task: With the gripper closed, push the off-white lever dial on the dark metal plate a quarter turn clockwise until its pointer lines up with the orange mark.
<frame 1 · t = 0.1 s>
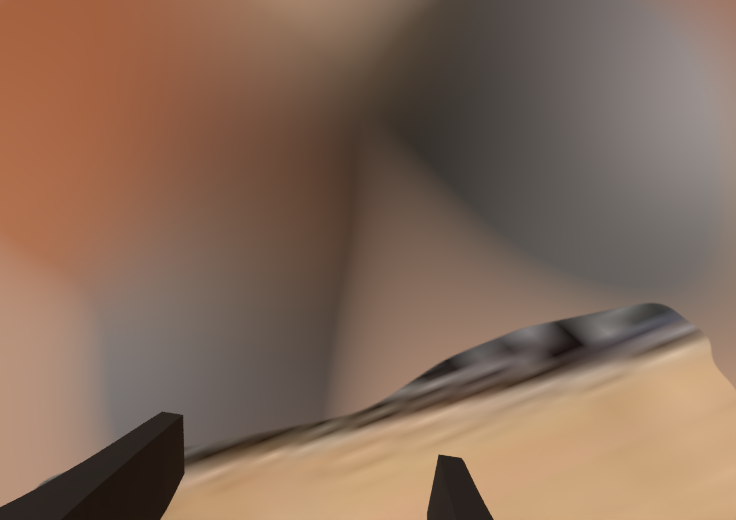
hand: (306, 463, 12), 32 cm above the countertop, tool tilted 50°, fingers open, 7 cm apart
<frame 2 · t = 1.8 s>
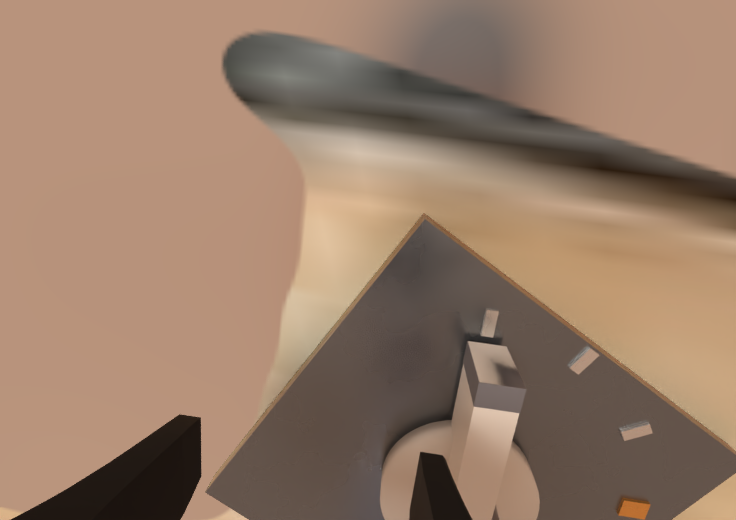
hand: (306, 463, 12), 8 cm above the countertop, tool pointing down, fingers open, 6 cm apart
dial plate: (452, 460, 21), on the countertop
dial: (467, 475, 18), point 3 cm above the countertop, hinge at 30.0°
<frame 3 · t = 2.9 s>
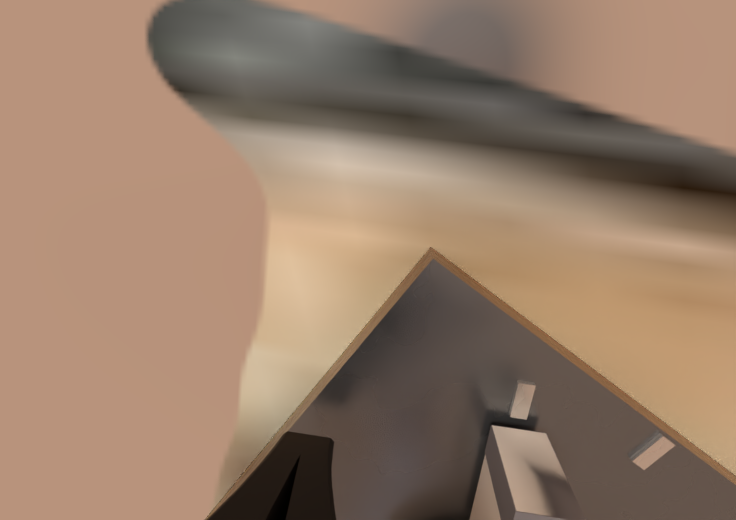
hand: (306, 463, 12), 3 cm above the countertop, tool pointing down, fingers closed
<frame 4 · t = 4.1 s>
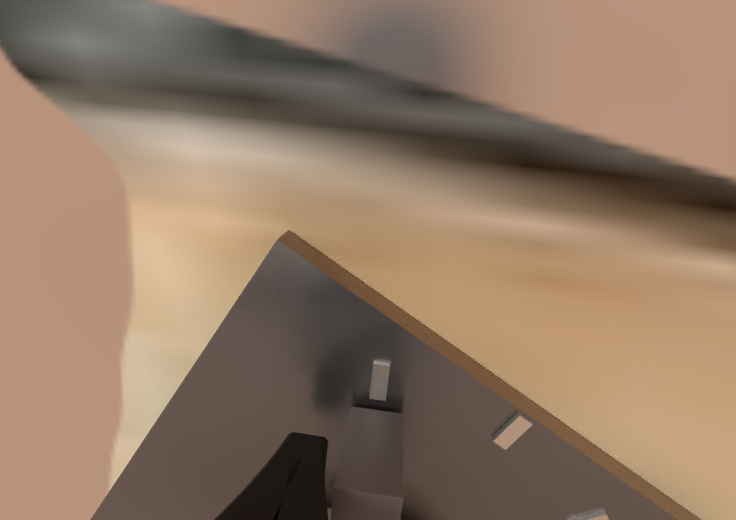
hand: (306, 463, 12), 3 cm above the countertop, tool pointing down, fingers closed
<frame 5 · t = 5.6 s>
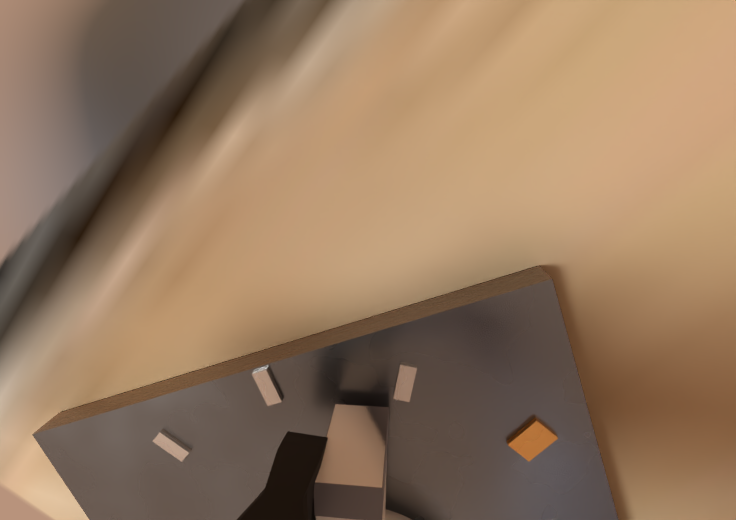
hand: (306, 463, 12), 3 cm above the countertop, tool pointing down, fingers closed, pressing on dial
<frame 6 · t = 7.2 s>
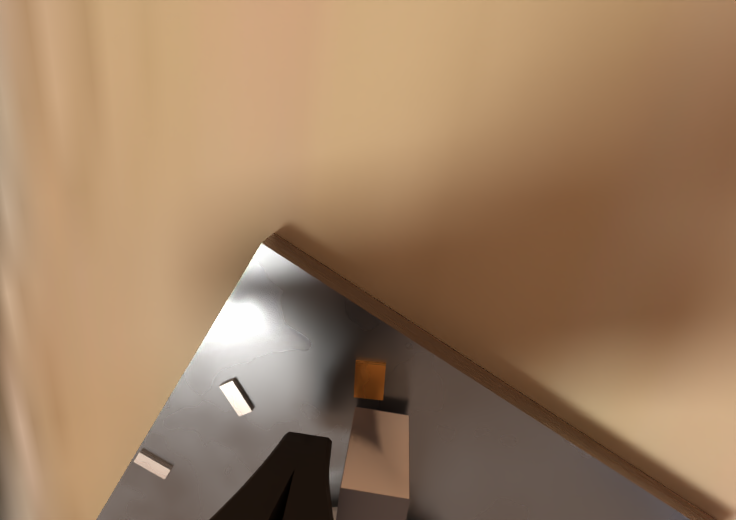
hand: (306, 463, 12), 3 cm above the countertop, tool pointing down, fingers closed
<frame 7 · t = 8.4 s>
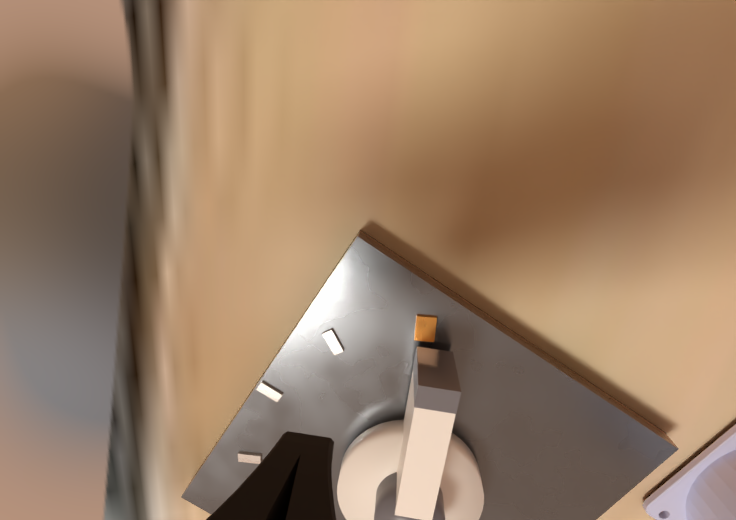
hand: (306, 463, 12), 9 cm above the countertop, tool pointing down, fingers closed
dial plate: (409, 457, 23), on the countertop
dial: (416, 471, 19), point 3 cm above the countertop, hinge at -63.7°
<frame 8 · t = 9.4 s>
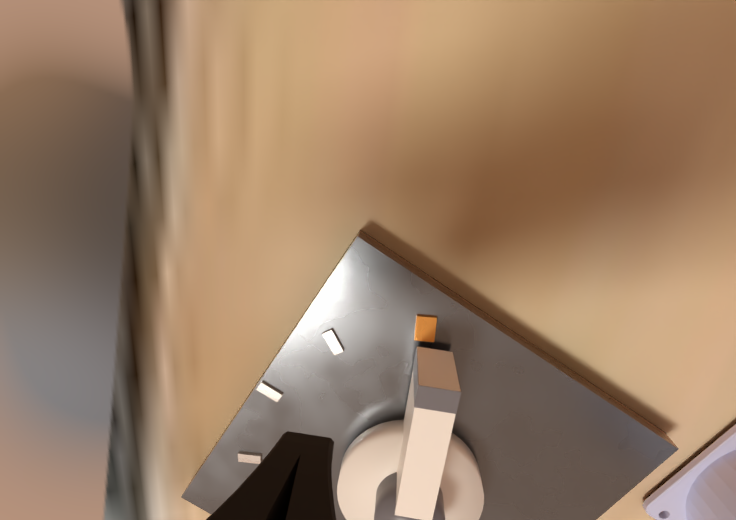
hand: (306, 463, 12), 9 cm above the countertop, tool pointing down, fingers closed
dial plate: (409, 457, 23), on the countertop
dial: (416, 471, 19), point 3 cm above the countertop, hinge at -63.7°
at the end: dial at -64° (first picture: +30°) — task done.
